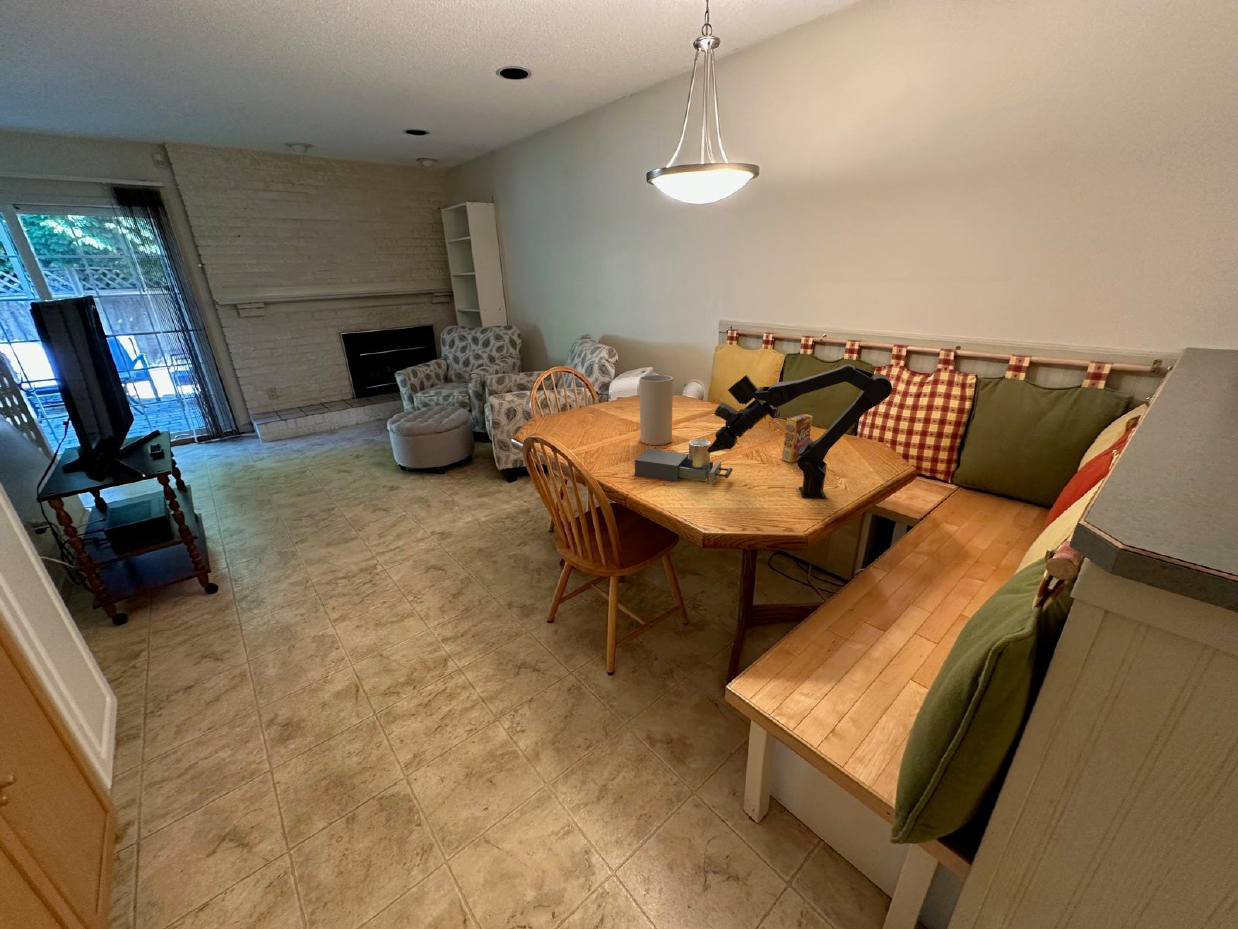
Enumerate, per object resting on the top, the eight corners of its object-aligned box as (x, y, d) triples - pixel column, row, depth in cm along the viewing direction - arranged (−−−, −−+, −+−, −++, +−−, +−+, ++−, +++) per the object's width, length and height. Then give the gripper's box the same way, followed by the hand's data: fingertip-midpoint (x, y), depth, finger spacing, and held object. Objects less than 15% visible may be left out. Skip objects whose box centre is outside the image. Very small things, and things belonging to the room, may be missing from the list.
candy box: (791, 463, 163) (796, 420, 157) (781, 459, 166) (785, 417, 160) (808, 457, 167) (813, 415, 162) (797, 454, 171) (802, 413, 165)
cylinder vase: (677, 438, 191) (678, 376, 182) (662, 447, 181) (662, 382, 172) (650, 434, 197) (650, 373, 188) (634, 442, 188) (633, 379, 179)
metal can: (709, 476, 149) (710, 446, 146) (688, 475, 150) (688, 445, 147) (709, 468, 155) (710, 439, 152) (688, 467, 156) (689, 438, 153)
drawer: (733, 473, 154) (734, 462, 152) (726, 486, 145) (727, 474, 144) (681, 466, 161) (681, 455, 159) (671, 477, 152) (671, 466, 151)
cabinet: (688, 469, 161) (688, 453, 159) (677, 482, 151) (677, 465, 149) (647, 463, 166) (647, 448, 164) (634, 475, 157) (634, 459, 155)
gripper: (738, 388, 148) (702, 419, 156) (725, 402, 132) (685, 436, 140) (762, 415, 147) (725, 444, 156) (751, 432, 132) (710, 464, 140)
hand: (711, 446), depth 148 cm, fingers open, 9 cm apart
